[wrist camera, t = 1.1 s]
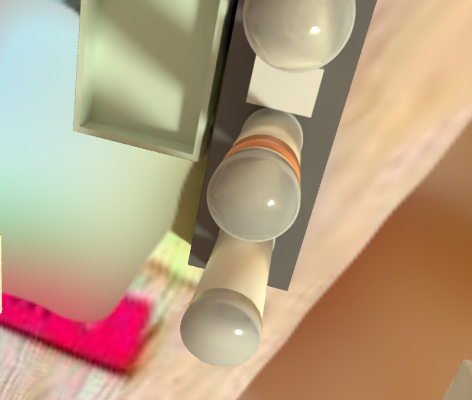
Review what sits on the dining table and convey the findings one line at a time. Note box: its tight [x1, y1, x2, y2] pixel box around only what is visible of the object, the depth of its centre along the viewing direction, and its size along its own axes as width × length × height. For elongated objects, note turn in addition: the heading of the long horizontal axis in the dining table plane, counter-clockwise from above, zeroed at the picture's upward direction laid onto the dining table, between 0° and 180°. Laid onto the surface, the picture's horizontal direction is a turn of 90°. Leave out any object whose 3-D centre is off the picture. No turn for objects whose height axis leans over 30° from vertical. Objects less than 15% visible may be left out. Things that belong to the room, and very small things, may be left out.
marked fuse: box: [207, 107, 303, 242], centre depth 28 cm, size 5×5×13 cm
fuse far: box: [180, 228, 276, 367], centre depth 31 cm, size 5×5×13 cm
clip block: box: [188, 0, 377, 291], centre depth 33 cm, size 9×26×6 cm, turn 168°
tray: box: [73, 0, 235, 162], centre depth 34 cm, size 10×13×3 cm
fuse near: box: [243, 0, 356, 73], centre depth 24 cm, size 5×5×13 cm
